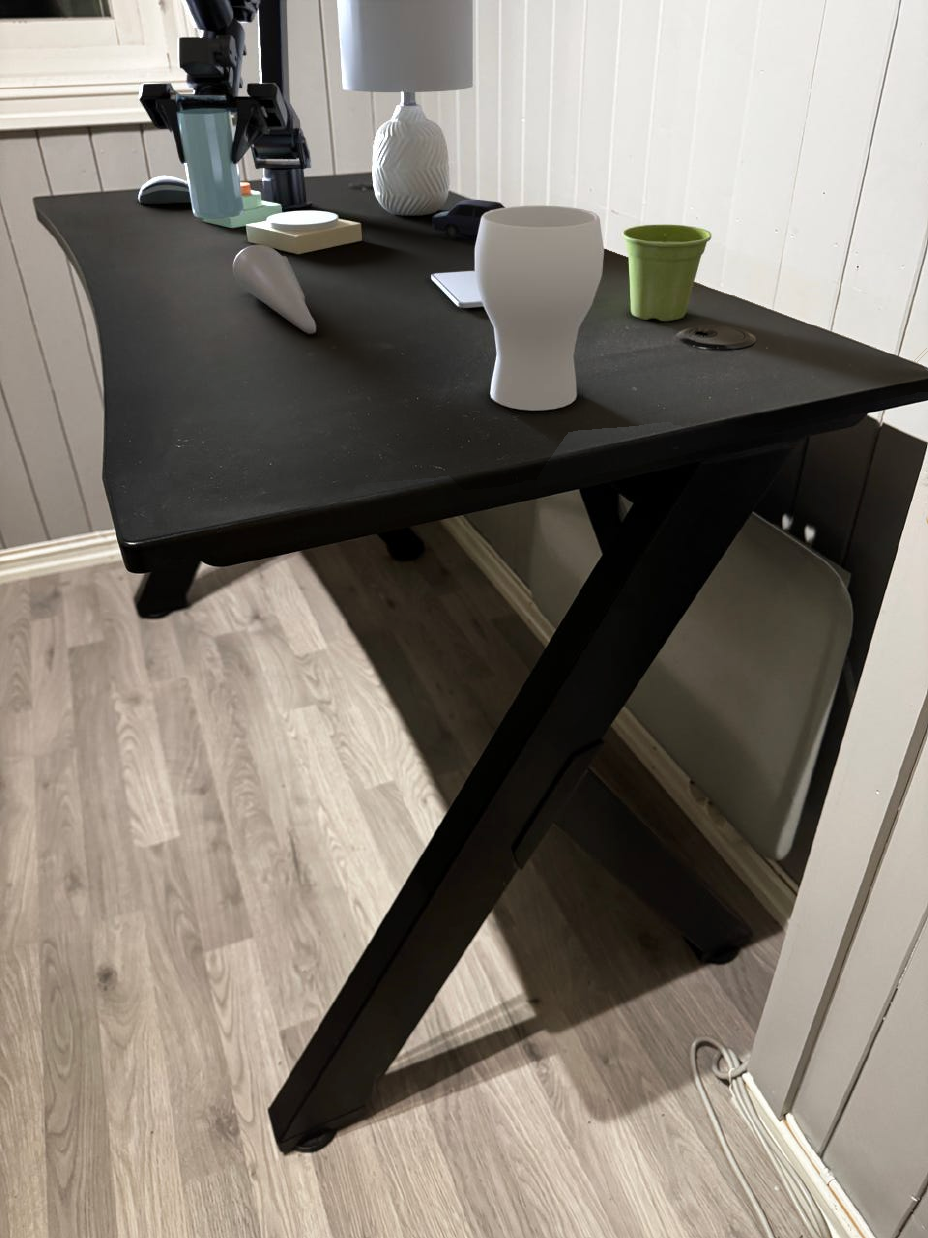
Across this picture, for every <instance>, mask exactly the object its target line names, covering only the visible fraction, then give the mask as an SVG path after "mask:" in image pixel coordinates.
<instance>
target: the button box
mask: <svg viewBox="0 0 928 1238" xmlns="http://www.w3.org/2000/svg"><path fill="white" fill-rule="evenodd" d="M242 199H243V206H244V208H243V210H244V213H243V214H242V215H240V216H236V217H231V218H222V219H205V218H202V221H203V222H205V223H208V224H213V225H216V226H221V227H225V228H229V229H236V228H241V227H246V225H247V224H253V223H258V222H263V221H267V218H268V217H269V216H272V215H275V214H279V213H283V210H282V207H281V204H276V203H271V202H266V201H265V200H263V199H262V193H261V192H260V191H258V190H252V189H251V195H245V196H242Z"/></svg>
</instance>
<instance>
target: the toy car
mask: <svg viewBox="0 0 928 1238" xmlns="http://www.w3.org/2000/svg"><path fill="white" fill-rule="evenodd" d="M500 208H506V206H504V205H503V204H502V203H501V202H499V201H493V200H492V201H491V200H484V199H465V200H464V199H463V200H461V201H459V202H457V203H456V204H455V205H454V206H453V208H452V209H451V210H446V211H442V212H441V211H440V212H439V213H436V214H434V216H432V218H431V223H432V229H433V231H435V232H436V231H437V232H443V233H444V232H445V234H446V236H447V237H448V238H449V239H451V240H454V239H457V238H458V236H459V234H464V235H471V236H477V235H478V231H479V226H480V221H481V217H482V215H483V214H484V213H486V212H489V211H491V210H495V209H500Z"/></svg>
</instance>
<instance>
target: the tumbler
mask: <svg viewBox="0 0 928 1238" xmlns="http://www.w3.org/2000/svg"><path fill="white" fill-rule="evenodd" d="M177 118H178V125H179V131H180V137H181V143H182V149H183V155H184V161H185V163H184V167H185V174H186V178H187V179H186V180H187V182H188V185H189V191H190V197H191V202H190V204H191V209H192V214H193V216H194V217H195V218H199V219H203V218H205V219H222V218H231V217H236V216H240V215H242V214H243V213H244V210H243V208H244V206H243V199H242V191H241V184H240V182H241V177H240V171H239V169H240V168H239V162H238V163H237V164H234V163H233V161H232V146H233V140H234V134H235V131H234V127H233V126H234V125H233V117H232V115H231V111H230V110H228V109H217V108H204V109H188V110H181V111H178V112H177Z"/></svg>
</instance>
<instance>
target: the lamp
mask: <svg viewBox="0 0 928 1238" xmlns="http://www.w3.org/2000/svg"><path fill="white" fill-rule="evenodd" d="M336 5H337V6H336V7H337V21H338V34H339V35H338V36H339V46H340V47H339V48H340V64H341V76H342V78H341V79H342V89H343V90H347V91H355V92H367V93H401V102H400V104H398V105H396V108H395V111H394V113H393V116H392V117H391V119H389V120H386V121H385V122H383V123H382V124H381V125H380V126H379V128H378V130H377V131H376V136H375V140H374V144H373V154H372V181H373V183H372V184H373V189H374V194H375V198H376V200H377V201H378V204H379V205H380V206H381V208H383V209H384V210H385V211H387V212H388V213H389V214H392V215H395V216H402V217H403V216H405V217H407V216H409V217H411V216H413V217H415V216H416V217H419V216H420V217H421V216H428V215H432V214H434V213H437V211H439V210H440V209H441V208H442V207H443V206H444V204H445V203H446V201H447V200H448V197H449V193H450V191H449V190H450V184H451V182H450V181H451V177H450V176H451V175H450V174H451V173H450V164H449V162H450V161H449V159H450V158H449V151H448V146H447V143H446V137H445V135H444V134H443V133H444V132H443V130H442V128H441V126H439V125H438V124H437V123H436V122H435V121H434V120H431V119H428V118H427V116H426V114H425V113H424V111H423V108H422V105H420V104H418V103H417V101H416V93H429V92H446V91H448V92H449V91H460V90H466V89H471V88H473V87H474V83H473V82H474V78H473V77H474V76H473V75H474V69H473V65H474V64H473V62H474V60H473V57H474V56H473V55H474V53H473V51H474V47H473V43H474V42H473V39H474V38H473V37H474V36H473V29H474V28H473V27H474V26H473V21H474V20H473V19H474V17H473V10H474V9H473V8H474V7H473V6H474V5H473V0H336Z"/></svg>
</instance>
